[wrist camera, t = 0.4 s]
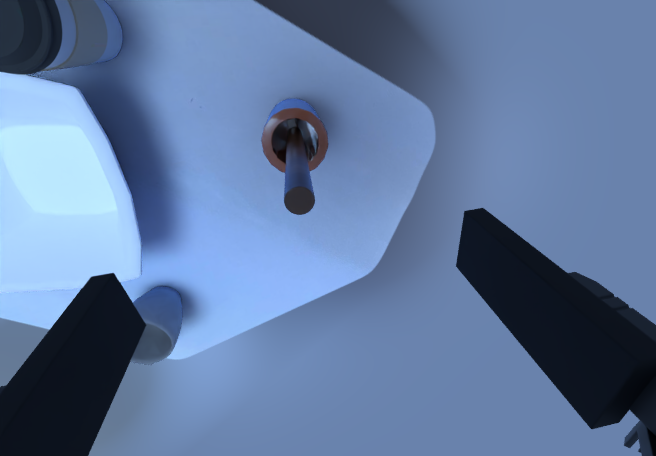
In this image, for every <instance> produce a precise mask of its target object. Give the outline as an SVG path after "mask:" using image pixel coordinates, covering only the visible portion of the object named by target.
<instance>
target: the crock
mask: <svg viewBox="0 0 656 456" xmlns="http://www.w3.org/2000/svg"><path fill="white" fill-rule="evenodd" d="M295 118H296V120H297V124H298V128H299V129H300V130H301V131H302V134H303V139H304V145H305V150H306V155H307V160H308V166H309V171H311V170H313V169H315V168H316V167H318V165H319V164H320V163H321V162H322V161H323V159H324V157H325V155H326V152H327V148H328V136H327V131H326V129H325V127H324V125H323V123H322V121H321V120H320V118H319V116H318V115H317V113H316V111H315V110H314V108H313V107H312V106H311V105H310V104H308V103H307V102H305V101H303V100H301V99H296V98H290V99H286V100H283V101H281V102H279V103H278V104H277V105H276V106H275V107H274V108H273V110H272V111H271V113H270V115H269V117H268V120H267V122H266V124H265V126H264V130H263V135H262V140H261V141H262V146H263V152H264V154H265V156H266V157H267V159H268V160H269V162H270V163H271V165H273V166H274V167H275V168H277V169H278V170H279V171H281V172H284V173H285V169H286V146H287V132H288V130H289V128H288V124H287V119H295Z"/></svg>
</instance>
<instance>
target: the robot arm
mask: <svg viewBox="0 0 656 456" xmlns="http://www.w3.org/2000/svg"><path fill="white" fill-rule="evenodd" d="M456 267H457V268H458V269H459V270H460V272H461V273H462V274H463V275H464V276H465V278H466V279H467V280H468V281H469V282H470V284H471V285H472V286H473V287H474V288H475V290H476V291H477V292H478V293H479V294H480V296H481V297H482V298H483V299H484V300H485V302H486V303H487V304H488V305H489V307H490V308H491V309H492V310H493V311H494V313H495V314H496V315H497V316H498V317H499V319H500V320H501V321H502V322H503V323H504V325H505V326H506V327H507V328H508V329H509V331H510V332H511V333H512V334H513V335H514V337H515V338H516V339H517V340H518V342H519V343H520V344H521V345H522V346H523V348H525V350H526V351H527V352H528V354H529V355H530V356H531V357H532V358H533V359H534V361H535V362H536V363H537V364H538V366H539V367H540V368H541V369H542V370H543V372H544V373H545V374H546V375H547V376H548V378H549V379H550V380H551V381H552V382H553V384H554V385H555V386H556V387H557V389H558V390H559V391H560V392H561V393H562V395H563V396H564V397H565V398H566V399H567V401H568V402H569V403H570V404H571V405H572V407H573V408H574V409H575V410H576V411H577V413H578V414H579V415H580V416H581V417H582V419H583V420H584V421H585V422H586V423H587V425H588V426H589V427H590V428H591V429H595V428H598V427H603V426H607V425H611V424H615V423H619V422H620V421H621V419H622V418H623V417H624V416H625V414H626V413H627V412H628V411H629V409H630V410H631V412H633V414H635V416H636V417H638V418H639V420H640V421H639V422H638V423H637V424H636V426H635V427H634V428H633V429H632V430H631V431H630V433H629V434H628V435H627V436H626V437H625V443H624V446H626V447H628V448H630V447H631V446H632V445H633V444H634V443H635V442H636V441H637V440H638V439H639V443H640V449H639V452H641V453H642V456H656V325H655V324H654V323H652V322H651V321H649V320H648V319H647V318H645V317H644V316H643V315H641V314H640V313H639V312H637V311H636V310H634V309H633V308H629V306H628V304H626V303H625V302H623V301H622V300H621V299H619V298H618V297H614V294H613V293H611V292H610V291H608V290H607V289H606V288H604V287H603V286H602V285H600V284H599V283H597V282H596V281H594V280H592V279H589V278H587V277H585V276H583V275H581V274H579V273H577V272H572V273H567V272H565V271H564V270H562V269H561V268H560V267H559V266H557V265H556V264H555V263H554V262H552V261H551V260H549V259H548V258H547V257H546V256H545V255H543V254H542V253H541V252H539V251H538V250H537V249H536V248H534V247H533V246H531V245H530V244H529V243H528V242H526V241H525V240H524V239H523V238H521V237H520V236H519V235H517V234H516V233H515V232H514V231H512V230H511V229H510V228H508V227H507V226H506V225H505V224H503V223H502V222H501V221H499V220H498V219H497V218H495V217H494V216H493V215H492V214H490V213H489V212H488V211H486V210H485V209H483V208H480V209H474V210H468V211H465V212H464V218H463V225H462V231H461V237H460V244H459V250H458V257H457V264H456ZM145 327H146V323H145V322H144V320H143V319H142V317H141V315H140V314H139V312H138V311H137V309H136V307H135V306H134V304H133V303H132V301H131V299H130V298H129V296H128V295H127V293H126V291H125V290H124V288H123V287H122V285H121V283H120V282H119V280H118V279H117V277H116V275H115V274H114V273H109V274H103V275H98V276H92V277H91V278H90V279H89V280H88V281H87V283H86V284H85V285H84V287H83V288H82V289H81V290H80V292H79V293H78V294H77V296H76V297H75V298H74V299H73V301H72V302H71V303H70V305H69V306H68V307H67V308H66V310H65V311H64V312H63V314H62V315H61V316H60V317H59V319H58V320H57V321H56V322H55V324H54V325H53V326H52V328H51V329H50V330H49V331H48V333H47V334H46V335H45V337H44V338H43V339H42V341H41V342H40V343H39V344H38V346H37V347H36V348H35V350H34V351H33V352H32V353H31V355H30V356H29V357H28V359H27V360H26V361H25V362H24V364H23V365H22V366H21V368H20V369H19V370H18V371H17V373H16V374H15V375H14V376H13V378H12V379H11V380H10V382H9V383H8V384H7V385H6V386H1V387H0V456H88V455H89V452H90V450H91V448H92V445H93V443H94V441H95V439H96V437H97V434H98V432H99V430H100V428H101V425H102V423H103V421H104V419H105V416H106V414H107V412H108V410H109V408H110V405H111V403H112V401H113V399H114V396H115V394H116V392H117V389H118V387H119V385H120V383H121V381H122V379H123V376H124V374H125V372H126V370H127V367H128V365H129V363H130V361H131V358H132V356H133V354H134V352H135V350H136V347H137V345H138V343H139V341H140V338H141V336H142V334H143V332H144V329H145Z"/></svg>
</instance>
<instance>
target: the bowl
mask: <svg viewBox="0 0 656 456" xmlns="http://www.w3.org/2000/svg"><path fill="white" fill-rule="evenodd" d="M109 273H114V274H115V275H116V277H117V279H118V280H119V282H120V283H121V282H125V281H128V280H132V279H136V278H139V277H140V276H141V274H142V241H141V236H140V232H139V227H138V222H137V217H136V213H135V208H134V203H133V198H132V194H131V192H130V189H129V187H128V184H127V182H126V180H125V177H124V175H123V172H122V169H121V167H120V164H119V162H118V159H117V157H116V154H115V152H114V150H113V147H112V145H111V143H110V141H109V138H108V137H107V135H106V133H105V132H104V130H103V128H102V127H101V125H100V123H99V121H98V120H97V118H96V116H95V115H94V113H93V111H92V109H91V108H90V106H89V104H88V103H87V101H86V99H85V98H84V96H83V94H82V92H81V91H80V90H79V89H78V88H77V87H75V86H71V85H67V84H63V83H58V82H54V81H50V80H46V79H42V78H38V77H34V76H30V75H25V74H24V75H19V74H10V73H4V72H0V293H15V292H36V291H55V290H70V289H82V288H83V287H84V285H85V284H86V283H87V281H88V280H89V279H90V278H91V277H92V276H98V275H103V274H109Z"/></svg>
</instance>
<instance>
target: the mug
mask: <svg viewBox="0 0 656 456" xmlns="http://www.w3.org/2000/svg"><path fill="white" fill-rule="evenodd" d="M133 304H134V306H135V307H136V309H137V311H138V312H139V314H140V315H141V317H142V319H143V320H144V322H145V323H146V327H145V329H144V332H143V334H142V336H141V338H140V341H139V343H138V345H137V347H136V350H135V352H134V354H133V356H132V358H131V361H130V362H133V363H139V364H145V365H151V364H153V363H155V362H159V361H161V360H163V359H165V358H166V357H168V356H169V355H170V354H171V352H172V350H173V349H174V347H175V344H176V342H177V339H178V336H179V333H180V329H181V324H182V317H183V312H182V305H181V296H180V294H179V293H178V292H177V291H175V290H174V289H172V288H169V287H156V288H154V289H152V290H151V291H150V292H148V293H146V294H144V295H142V296H141V297H139V298H138V299H137V300H135V301H134V302H133Z"/></svg>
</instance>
